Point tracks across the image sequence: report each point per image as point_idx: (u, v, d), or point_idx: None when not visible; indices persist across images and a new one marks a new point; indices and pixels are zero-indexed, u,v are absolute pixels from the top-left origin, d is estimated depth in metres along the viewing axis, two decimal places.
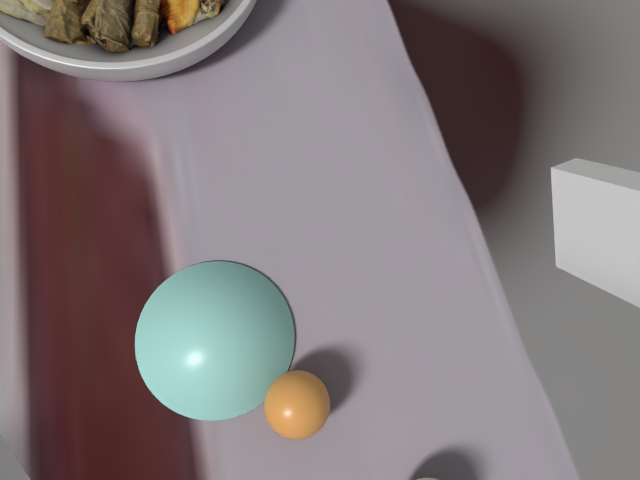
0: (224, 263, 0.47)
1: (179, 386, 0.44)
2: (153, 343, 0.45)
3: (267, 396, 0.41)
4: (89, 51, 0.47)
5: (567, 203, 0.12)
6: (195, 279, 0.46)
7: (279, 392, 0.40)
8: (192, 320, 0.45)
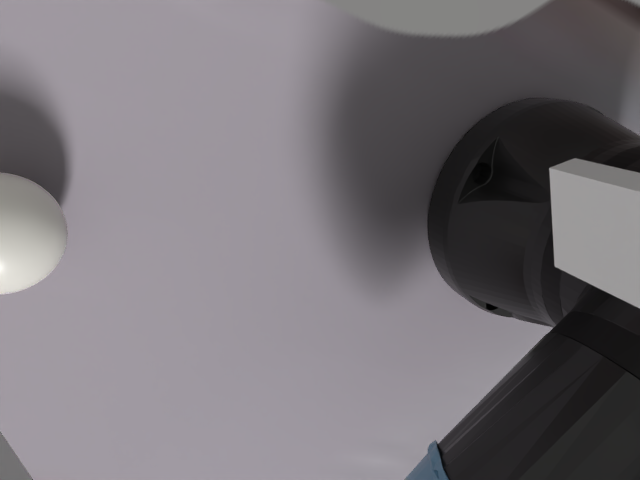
0: None
1: None
2: None
3: None
4: None
5: (565, 203, 0.12)
6: None
7: None
8: None
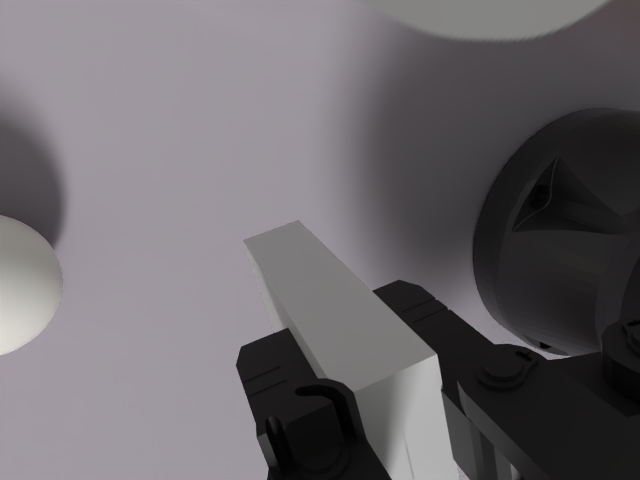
0: None
1: None
2: None
3: None
4: None
5: None
6: None
7: None
8: None
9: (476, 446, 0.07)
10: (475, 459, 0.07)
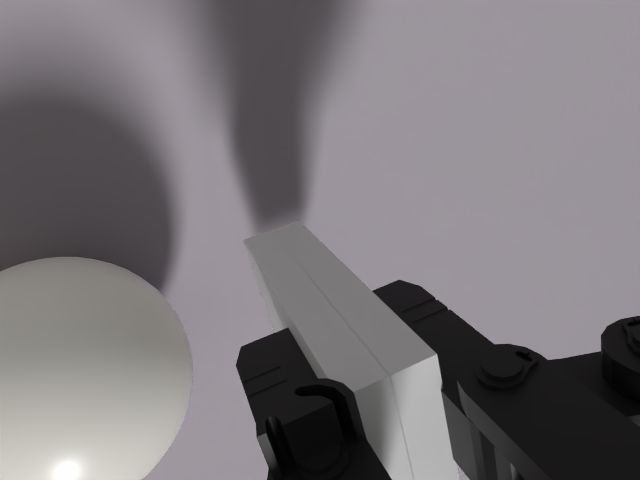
0: None
1: None
2: None
3: None
4: None
5: None
6: None
7: None
8: None
9: (476, 446, 0.07)
10: (475, 459, 0.07)
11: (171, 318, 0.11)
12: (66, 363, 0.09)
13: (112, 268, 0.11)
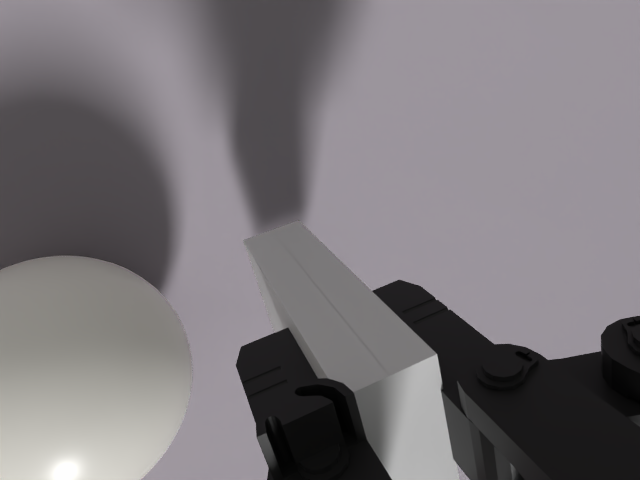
0: None
1: None
2: None
3: None
4: None
5: None
6: None
7: None
8: None
9: (476, 446, 0.07)
10: (475, 459, 0.07)
11: (171, 317, 0.11)
12: (65, 362, 0.09)
13: (111, 267, 0.11)
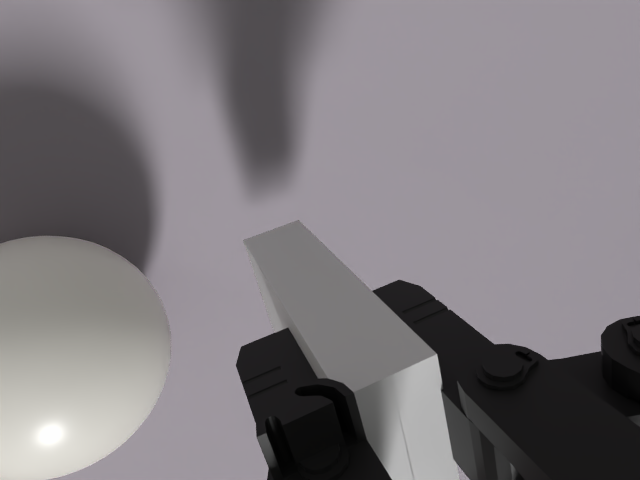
0: None
1: None
2: None
3: None
4: None
5: None
6: None
7: None
8: None
9: (476, 446, 0.07)
10: (475, 459, 0.07)
11: (149, 293, 0.12)
12: (48, 330, 0.10)
13: (93, 246, 0.12)
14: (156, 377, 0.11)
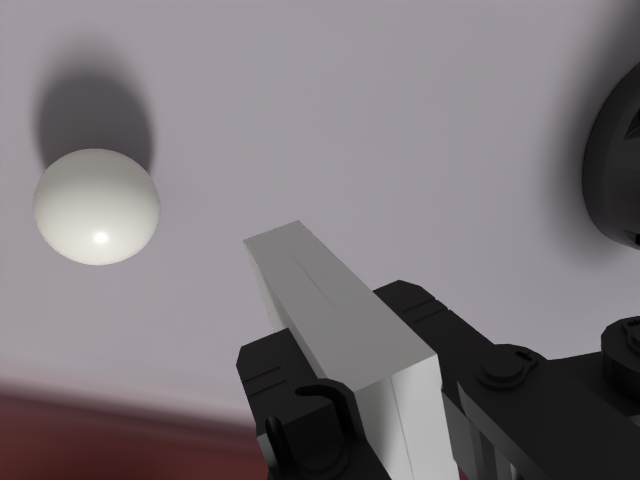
0: None
1: None
2: None
3: None
4: None
5: None
6: None
7: None
8: None
9: (476, 446, 0.07)
10: (475, 459, 0.07)
11: (148, 177, 0.24)
12: (103, 181, 0.22)
13: (121, 154, 0.24)
14: (151, 216, 0.24)
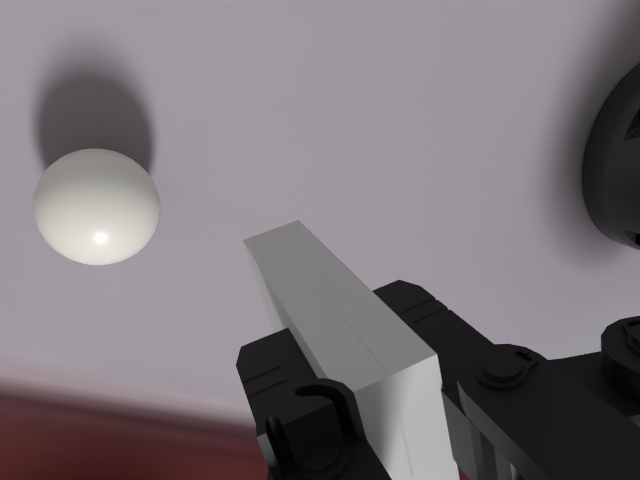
0: None
1: None
2: None
3: None
4: None
5: None
6: None
7: None
8: None
9: (476, 446, 0.07)
10: (475, 459, 0.07)
11: (149, 177, 0.24)
12: (103, 181, 0.22)
13: (121, 154, 0.24)
14: (151, 216, 0.24)
